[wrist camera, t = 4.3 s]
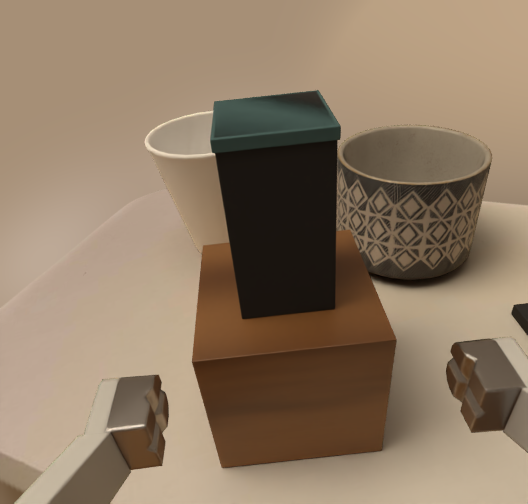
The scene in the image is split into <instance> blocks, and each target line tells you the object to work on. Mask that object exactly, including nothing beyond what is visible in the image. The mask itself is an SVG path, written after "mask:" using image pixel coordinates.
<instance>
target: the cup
mask: <svg viewBox="0 0 528 504" xmlns="http://www.w3.org/2000/svg"><path fill="white" fill-rule="evenodd" d="M212 118H213V111H209V112H201V113H195V114H191V115H186V116H183V117H179V118H176V119H173V120H170V121H168V122H166V123H163V124H161V125H159V126H158V127H156V128H155V129H153V130H152V131H151V132H150V133H149V134H148V135H147V136H146V138H145V143H144V144H145V146H146V148H147V149H148V151H149V152H150V154H151V156H152V158H153V160H154V162H155V164H156V166H157V168H158V170H159V173H160V174H161V176H162V179H163V181H164V183H165V185H166V187H167V189H168V191H169V193H170V195H171V197H172V199H173V201H174V203H175V205H176V207H177V209H178V211H179V213H180V215H181V217H182V219H183V221H184V224H185V226H186V228H187V230H188V232H189V234H190V236H191V238H192V240H193V242H194V244H195V246H196V248H197V250H198V251H199V252H200V253H202V250H203V245H211V244H220V243H229V237H228V231H227V224H226V218H225V212H224V206H223V200H222V194H221V188H220V182H219V176H218V169H217V163H216V157H215V153H212V150H211V144H210V136H211V127H212Z"/></svg>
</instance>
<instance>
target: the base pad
mask: <svg viewBox="0 0 528 504" xmlns="http://www.w3.org/2000/svg"><path fill="white" fill-rule="evenodd" d="M512 315H513V316H514V318H515V319H516V320H517V322H518V323H519V324H520V325H521V327H522V328H523V329H524V331H525V332H526V333H527V335H528V303H526V304H517V305H514V307H513V310H512Z"/></svg>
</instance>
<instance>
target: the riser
mask: <svg viewBox="0 0 528 504" xmlns="http://www.w3.org/2000/svg"><path fill="white" fill-rule="evenodd" d="M396 340H397V339H396V337H395V335H394V332H393V330H392V328H391V325H390V323H389V320H388V318H387V316H386V313H385V311H384V309H383V306H382V304H381V301H380V299H379V297H378V294H377V292H376V290H375V287H374V285H373V283H372V280H371V278H370V275H369V273H368V271H367V268H366V266H365V264H364V261H363V259H362V256H361V254H360V252H359V249H358V247H357V245H356V242H355V240H354V237H353V235H352V233H351V230H341V231H336V288H335V309H332V310H322V311H313V312H304V313H295V314H285V315H276V316H267V317H258V318H249V319H242V316H241V310H240V304H239V298H238V292H237V286H236V280H235V273H234V267H233V261H232V255H231V249H230V243H220V244H211V245H203V250H202V261H201V271H200V282H199V293H198V303H197V314H196V325H195V335H194V346H193V356H192V363H193V367H194V371H195V374H196V378H197V381H198V385H199V388H200V392H201V396H202V399H203V403H204V406H205V410H206V413H207V417H208V420H209V424H210V428H211V431H212V435H213V438H214V442H215V445H216V449H217V452H218V456H219V460H220V463H221V467H222V468H224V467H233V466H243V465H252V464H261V463H270V462H280V461H289V460H298V459H307V458H317V457H326V456H335V455H344V454H354V453H363V452H372V451H381V450H382V444H383V437H384V429H385V422H386V415H387V407H388V400H389V392H390V385H391V377H392V370H393V363H394V355H395V348H396Z"/></svg>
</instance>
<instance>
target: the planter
mask: <svg viewBox="0 0 528 504" xmlns="http://www.w3.org/2000/svg"><path fill="white" fill-rule="evenodd" d="M491 161H492V154H491V151H490V149H489V148H488V147H487V146H486V145H485V144H484V143H483V142H481V141H480V140H478V139H477V138H475V137H472V136H470V135H468V134H465V133H462V132H459V131H456V130H452V129H447V128H442V127H435V126H426V125H394V126H386V127H379V128H374V129H370V130H366V131H363V132H360V133H357V134H355V135H353V136H351V137H349V138H348V139H346V140H345V141H344V142H343V143H342V144H341V145H340V146H339V149H338V153H337V226H336V231H341V230H351V233H352V235H353V237H354V240H355V242H356V245H357V247H358V249H359V252H360V254H361V256H362V259H363V261H364V264H365V266H366V268H367V271H369V272H371V273H374V274H377V275H380V276H385V277H389V278H396V279H409V280H410V279H427V278H432V277H437V276H440V275H443V274H446V273H448V272H451V271H452V270H454V269H456V268H457V267H459V266H460V265H461V264H462V263H463V262H464V261H465V260H466V258H467V257H468V255H469V253H470V249H471V245H472V241H473V237H474V232H475V228H476V224H477V220H478V216H479V211H480V207H481V203H482V199H483V195H484V190H485V186H486V182H487V178H488V174H489V169H490V165H491Z"/></svg>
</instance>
